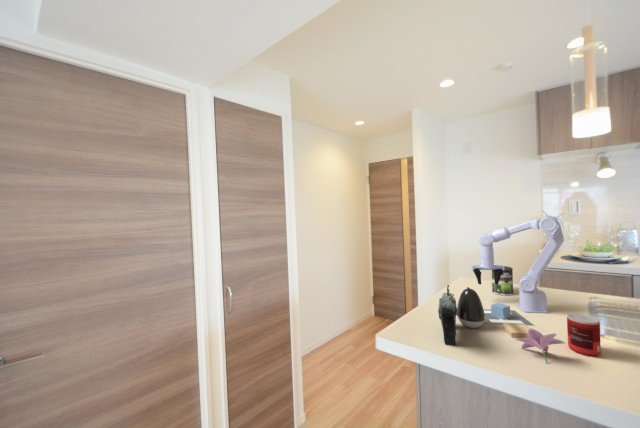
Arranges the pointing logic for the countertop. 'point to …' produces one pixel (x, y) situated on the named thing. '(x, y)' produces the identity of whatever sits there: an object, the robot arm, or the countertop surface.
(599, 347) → the canned food
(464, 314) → the black egg shaped container
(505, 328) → the oak slab
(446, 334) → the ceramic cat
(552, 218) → the robot arm
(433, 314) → the countertop surface
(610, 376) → the countertop surface
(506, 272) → the coffee can
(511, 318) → the letter card
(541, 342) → the lily
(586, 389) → the countertop surface
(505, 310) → the blue cube
